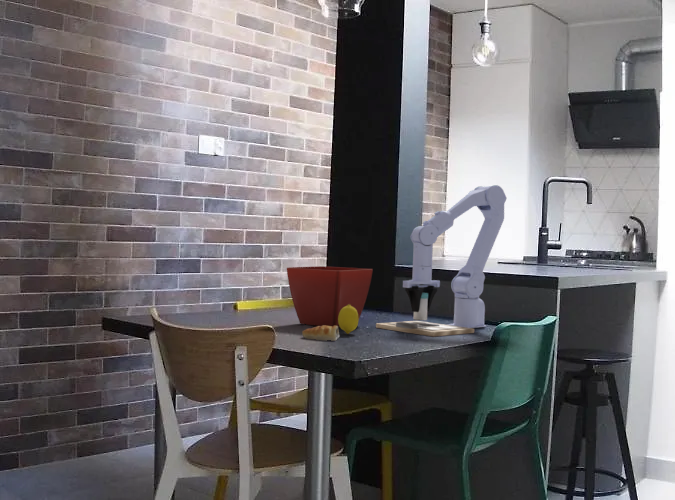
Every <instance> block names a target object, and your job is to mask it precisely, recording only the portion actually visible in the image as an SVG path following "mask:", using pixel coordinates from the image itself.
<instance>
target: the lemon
mask: <svg viewBox="0 0 675 500" xmlns="http://www.w3.org/2000/svg"><path fill="white" fill-rule="evenodd" d="M359 320H360V318H359V317H358V312H357V310H356V309H355V308H354V307H352V306H351V305H347V306H345V307H343V308H342V309H341V311H340V313H339V316H338V323H339V326H340V327H339V328H340V329H341V330H342V331H344V333H346V334H347V335H349V334H351V332H353V331H355V330H357V329H356V328H357V327H358V325H359Z"/></svg>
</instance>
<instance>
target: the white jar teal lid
mask: <svg viewBox="0 0 675 500" xmlns="http://www.w3.org/2000/svg"><path fill="white" fill-rule="evenodd" d="M427 305H428V293H422V296H421V300H420V308H419V312H413V321H428V311H427Z"/></svg>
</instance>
